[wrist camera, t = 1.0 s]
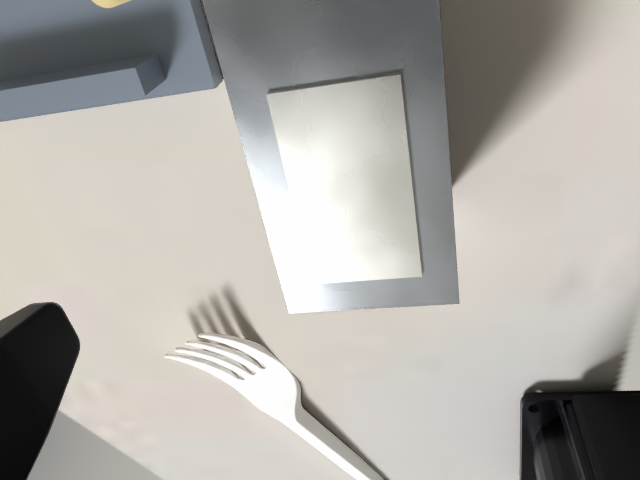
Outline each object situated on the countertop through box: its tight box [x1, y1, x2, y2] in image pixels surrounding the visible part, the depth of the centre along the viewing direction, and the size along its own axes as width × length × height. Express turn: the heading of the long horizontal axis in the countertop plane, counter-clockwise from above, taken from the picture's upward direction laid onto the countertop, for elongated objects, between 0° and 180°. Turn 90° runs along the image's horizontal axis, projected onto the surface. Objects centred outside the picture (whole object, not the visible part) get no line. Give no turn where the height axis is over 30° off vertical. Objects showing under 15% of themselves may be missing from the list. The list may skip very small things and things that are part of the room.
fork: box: [165, 333, 384, 480], centre depth 26 cm, size 3×20×2 cm, turn 40°
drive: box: [202, 0, 459, 313], centre depth 14 cm, size 8×4×6 cm, turn 11°
